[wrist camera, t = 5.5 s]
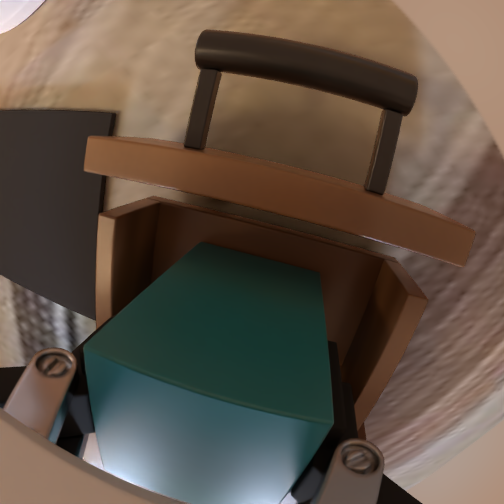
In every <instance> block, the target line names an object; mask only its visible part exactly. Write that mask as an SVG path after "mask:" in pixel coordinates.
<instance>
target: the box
mask: <svg viewBox="0 0 504 504" xmlns="http://www.w3.org/2000/svg"><path fill="white" fill-rule="evenodd" d="M83 352H84V362H85V370H86V378H87V386H88V393H89V399H90V405H91V411H92V417H93V422H94V427H95V432H96V437H97V442H98V446H99V451H100V455H101V459H102V463H103V467H104V469H105V470H106V471H108V472H111V473H113V474H115V475H117V476H119V477H121V478H124V479H126V480H128V481H131V482H133V483H135V484H138V485H140V486H143V487H145V488H148V489H150V490H153V491H156V492H158V493H161V494H164V495H167V496H169V497H172V498H175V499H178V500H181V501H184V502H188V503H191V504H280V503H281V502H282V501H283V499H284V498H285V497H286V495H287V494H288V493H289V491H290V490H291V488H292V487H293V486H294V484H295V483H296V481H297V480H298V479H299V477H300V476H301V474H302V473H303V471H304V470H305V468H306V467H307V465H308V464H309V462H310V461H311V459H312V458H313V456H314V455H315V453H316V452H317V450H318V448H319V447H320V445H321V444H322V442H323V441H324V439H325V437H326V436H327V434H328V432H329V431H330V429H331V427H332V426H333V424H334V415H333V399H332V385H331V373H330V361H329V350H328V340H327V330H326V321H325V312H324V303H323V295H322V287H321V279H320V273H319V272H316V271H312V270H308V269H304V268H300V267H296V266H293V265H289V264H285V263H281V262H277V261H273V260H270V259H266V258H262V257H258V256H254V255H250V254H247V253H243V252H239V251H235V250H231V249H228V248H224V247H220V246H216V245H212V244H208V243H205V242H199V243H198V244H197V245H196V246H194V247H193V248H192V249H191V250H190V251H189V252H187V253H186V254H185V255H184V256H183V257H182V258H180V259H179V260H178V261H177V262H176V263H175V264H174V265H172V266H171V267H170V268H169V269H168V270H167V271H165V272H164V273H163V274H162V275H161V276H160V277H159V278H157V279H156V280H155V281H154V282H153V283H152V284H151V285H149V286H148V287H147V288H146V289H145V290H144V291H143V292H142V293H140V294H139V295H138V296H137V297H136V298H135V299H134V300H133V301H132V302H130V303H129V304H128V305H127V306H126V307H125V308H124V309H123V310H122V311H120V312H119V313H118V314H117V315H116V316H115V317H114V318H113V319H112V320H111V321H109V322H108V323H107V324H106V325H105V326H104V327H103V328H102V329H101V330H100V331H99V332H97V333H96V334H95V335H94V336H93V337H92V338H91V339H90V340H89V341H88V342H87V343H86V344H85V345H84V347H83Z"/></svg>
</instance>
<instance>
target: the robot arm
mask: <svg viewBox="0 0 504 504" xmlns="http://www.w3.org/2000/svg"><path fill="white" fill-rule="evenodd" d="M143 291H144V290H143ZM143 291H142V292H143ZM142 292H141V293H142ZM137 296H138V295H137ZM137 296H136V297H137ZM136 297H135V298H136ZM135 298H134V299H135ZM134 299H133V300H134ZM133 300H132V301H133ZM132 301H131V302H132ZM128 304H129V303H128ZM128 304H127V305H128ZM127 305H126V306H127ZM126 306H125V307H126ZM125 307H124V308H125ZM124 308H123V309H124ZM123 309H122V310H123ZM122 310H121V311H122ZM117 314H118V313H117ZM117 314H116V315H117ZM116 315H115V316H116ZM115 316H114V317H115ZM114 317H110V318H109V319H108V320H107V321H105V322H104V323H103V324H102V325H101V326H100V327H99V328H98V329H97V330H96V331H94V332H93V333H92V334H91V335H90V336H89V337H88V338H87V339H86V340H85V341H84V342H82V343H81V344H80V345H79V346H78V347H77V348H76V349H75V350H74V351H73V352H72V353H70V352H69V351H67V350H64V349H62V348H46V349H43V350H41V351H39V352H37V353H36V354H35V355H34V356H33V357H32V359H31V361H30V362H29V364H28V366H23V367H6V368H0V504H187V503H183V502H180V501H177V500H174V499H171V498H168V497H166V496H163V495H160V494H157V493H155V492H152V491H149V490H147V489H144V488H142V487H139V486H137V485H134V484H132V483H130V482H127V481H125V480H123V479H121V478H118V477H116V476H114V475H112V474H110V473H108V472H106V471H103V470H101V469H99V468H97V467H95V466H93V465H91V464H89V463H87V462H86V461H84V460H83V456H84V452H85V448H86V445H87V441H88V437H89V434H90V433H94V432H95V427H94V422H93V417H92V411H91V405H90V399H89V393H88V386H87V378H86V370H85V362H84V352H83V347H84V345H85V344H86V343H87V342H88V341H89V340H90V339H91V338H92V337H93V336H94V335H95V334H96V333H97V332H99V331H100V330H101V329H102V328H103V327H104V326H105V325H106V324H107V323H108V322H109V321H111V320H112V319H113V318H114ZM328 350H329V361H330V373H331V385H332V399H333V415H334V424H333V426H332V427H331V429H330V431H329V432H328V434H327V436H326V437H325V439H324V441H323V442H322V444H321V445H320V447H319V448H318V450H317V452H316V453H315V455H314V456H313V458H312V459H311V461H310V462H309V464H308V465H307V467H306V468H305V470H304V471H303V473H302V474H301V476H300V477H299V479H298V480H297V481H296V483H295V484H294V486H293V487H292V488H291V490H290V491H289V493H291V496H292V497H293V498H294V499H295V500H296V501H297V502H296V504H422V503H421V502H419V501H418V500H417V499H415V498H414V497H412V496H411V495H410V494H409V493H407V492H406V491H405V490H403V489H402V488H401V487H400V486H398V485H397V484H396V483H394V482H393V481H392V480H391V479H389V478H388V477H387V476H386V475H384V474H383V470H384V457H383V454H382V452H381V451H380V450H379V449H378V447H376V446H375V445H374V444H372V443H371V442H369V441H366V440H363V439H359V438H358V431H357V423H356V416H355V408H354V401H353V394H352V388H351V384H350V383H346V382H342V379H341V371H340V363H339V356H338V349H337V343H336V342H333V341H329V340H328Z"/></svg>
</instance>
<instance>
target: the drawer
mask: <svg viewBox="0 0 504 504" xmlns="http://www.w3.org/2000/svg"><path fill="white" fill-rule="evenodd" d="M195 62H196V66H197V68H198V69H200V74H199V78H198V82H197V87H196V91H195V95H194V99H193V104H192V108H191V113H190V117H189V122H188V126H187V131H186V136H185V141H184V143H178V142H172V141H166V140H159V139H153V138H138V137H117V136H89V137H88V140H87V147H86V154H85V161H84V171H86V172H90V173H96V174H101V175H106V176H111V177H116V178H121V179H126V180H131V181H136V182H141V183H145V184H150V185H155V186H159V187H164V188H169V189H173V190H178V191H182V192H187V193H191V194H196V195H200V196H204V197H209V198H213V199H217V200H221V201H226V202H230V203H234V204H238V205H242V206H246V207H250V208H255V209H259V210H263V211H267V212H271V213H274V214H278V215H282V216H286V217H290V218H294V219H298V220H301V221H305V222H309V223H313V224H317V225H320V226H324V227H328V228H331V229H335V230H339V231H342V232H346V233H349V234H353V235H356V236H360V237H363V238H367V239H370V240H374V241H377V242H381V243H384V244H388V245H391V246H394V247H398V248H401V249H404V250H408V251H411V252H414V253H418V254H421V255H424V256H427V257H431V258H434V259H437V260H440V261H443V262H446V263H450V264H453V265H456V266H459V267H464V266H465V263H466V261H467V258H468V255H469V252H470V249H471V247H472V244H473V241H474V238H475V235H476V232H475V231H474V230H472V229H470V228H469V227H467V226H465V225H463V224H461V223H459V222H457V221H455V220H453V219H451V218H449V217H447V216H445V215H443V214H440V213H438V212H436V211H434V210H432V209H430V208H428V207H426V206H423V205H421V204H418V203H415V202H412V201H409V200H406V199H403V198H400V197H397V196H394V195H391V194H388V193H385V188H386V185H387V181H388V177H389V173H390V169H391V165H392V161H393V157H394V153H395V149H396V144H397V140H398V135H399V131H400V126H401V121H402V117H403V116H407V115H408V114H409V113H410V111H411V110H412V108H413V105H414V103H415V100H416V96H417V90H418V81H417V78H416V77H415V76H414V75H412V74H409V73H407V72H404V71H401V70H399V69H396V68H393V67H390V66H387V65H384V64H381V63H378V62H375V61H372V60H369V59H366V58H362V57H359V56H356V55H352V54H348V53H345V52H341V51H337V50H333V49H329V48H325V47H321V46H317V45H312V44H308V43H303V42H298V41H293V40H288V39H282V38H276V37H270V36H263V35H256V34H249V33H240V32H231V31H220V30H204V31H203V32H202V33H201V34H200V36H199V38H198V40H197V44H196V48H195ZM220 72H224V73H231V74H238V75H245V76H251V77H257V78H263V79H268V80H274V81H279V82H284V83H288V84H293V85H298V86H302V87H307V88H311V89H315V90H319V91H323V92H327V93H331V94H334V95H338V96H342V97H345V98H349V99H352V100H356V101H359V102H362V103H365V104H369V105H372V106H375V107H378V108H381V109H384V110H383V111H382V114H381V118H380V123H379V128H378V132H377V137H376V141H375V145H374V149H373V154H372V158H371V162H370V166H369V170H368V174H367V177H366V181H365V185H364V186H362V185H359V184H355V183H352V182H349V181H345V180H342V179H338V178H335V177H331V176H327V175H324V174H320V173H316V172H313V171H309V170H305V169H301V168H297V167H293V166H289V165H285V164H281V163H277V162H272V161H268V160H264V159H259V158H255V157H250V156H246V155H241V154H236V153H232V152H227V151H222V150H217V149H212V148H206V147H205V146H206V141H207V136H208V132H209V127H210V122H211V118H212V114H213V109H214V105H215V100H216V96H217V92H218V88H219V84H220V80H221V75H222V74H221V73H220ZM199 242H205V243H208V244H212V245H216V246H220V247H224V248H228V249H231V250H235V251H239V252H243V253H247V254H250V255H254V256H258V257H262V258H266V259H270V260H273V261H277V262H281V263H285V264H289V265H293V266H296V267H300V268H304V269H308V270H312V271H316V272H319V273H320V279H321V287H322V295H323V303H324V312H325V321H326V330H327V340H329V341H333V342H336V343H337V349H338V356H339V363H340V371H341V379H342V382H346V383H350V384H351V388H352V394H353V401H354V408H355V416H356V423H357V431H358V430H359V428H360V427H361V425H362V424H363V422H364V421H365V419H366V418H367V416H368V415H369V413H370V411H371V410H372V408H373V407H374V405H375V403H376V402H377V400H378V398H379V397H380V395H381V393H382V392H383V390H384V388H385V386H386V385H387V383H388V381H389V379H390V378H391V376H392V374H393V372H394V370H395V369H396V367H397V365H398V363H399V361H400V359H401V357H402V355H403V354H404V352H405V350H406V348H407V346H408V344H409V342H410V340H411V338H412V336H413V333H414V331H415V329H416V327H417V325H418V323H419V321H420V319H421V316H422V314H423V312H424V310H425V307H426V305H427V303H428V298H427V297H426V296H425V294H424V293H423V292H422V290H421V289H420V288H419V287H418V285H417V284H416V283H415V281H414V280H413V279H412V278H411V276H410V275H409V274H408V273H407V271H406V270H405V269H404V268H403V266H402V265H401V264H400V263H399V262H398V261H397V260H396V258H394V257H390V256H387V255H383V254H380V253H376V252H373V251H369V250H366V249H362V248H359V247H355V246H351V245H348V244H344V243H341V242H337V241H333V240H330V239H326V238H322V237H318V236H315V235H311V234H307V233H303V232H300V231H296V230H292V229H288V228H284V227H280V226H277V225H273V224H269V223H265V222H261V221H257V220H253V219H249V218H245V217H241V216H237V215H233V214H229V213H225V212H221V211H217V210H212V209H208V208H204V207H200V206H196V205H191V204H187V203H183V202H179V201H174V200H170V199H166V198H161V197H157V196H151V197H148V198H145V199H142V200H138V201H135V202H132V203H129V204H126V205H123V206H120V207H117V208H114V209H111V210H108V211H105V212H102V213H99V215H98V229H97V247H96V285H95V295H96V330H97V329H98V328H99V327H100V326H101V325H102V324H103V323H104V322H105V321H107V320H108V319H109V318H110V317H114V316H115V315H116V314H117V313H119V312H120V311H121V310H122V309H123V308H124V307H125V306H126V305H127V304H128V303H130V302H131V301H132V300H133V299H134V298H135V297H136V296H137V295H139V294H140V293H141V292H142V291H143V290H145V289H146V288H147V287H148V286H149V285H151V284H152V283H153V282H154V281H155V280H156V279H157V278H159V277H160V276H161V275H162V274H163V273H164V272H165V271H167V270H168V269H169V268H170V267H171V266H172V265H174V264H175V263H176V262H177V261H178V260H179V259H180V258H182V257H183V256H184V255H185V254H186V253H187V252H189V251H190V250H191V249H192V248H193V247H194V246H196V245H197V244H198V243H199Z"/></svg>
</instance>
